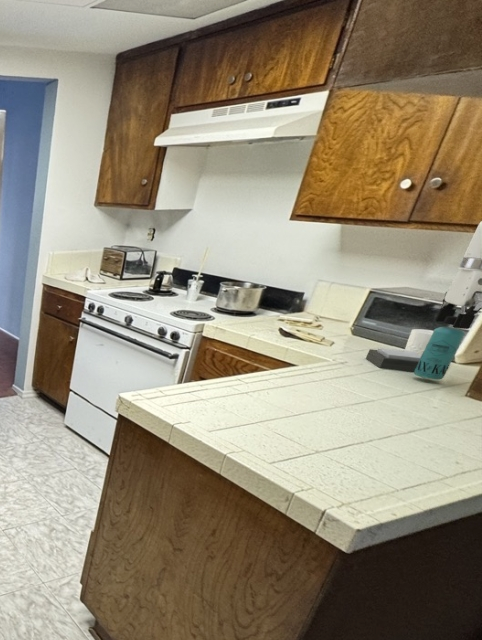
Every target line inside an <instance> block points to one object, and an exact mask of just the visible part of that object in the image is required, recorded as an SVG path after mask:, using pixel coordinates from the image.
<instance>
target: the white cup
mask: <svg viewBox="0 0 482 640" xmlns="http://www.w3.org/2000/svg"><path fill="white" fill-rule="evenodd" d="M433 332H434V330H431V329H423V328H413V329H411V331H410V334H409V336H408V339H407V342H406V344H405V347H404V351H412V352H415V353H416V354H418V355H420V356H422V352H424V351H423V350H425V348H426V346H427V344H428V342H429V340H430V338H431V336H432V334H433Z"/></svg>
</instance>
